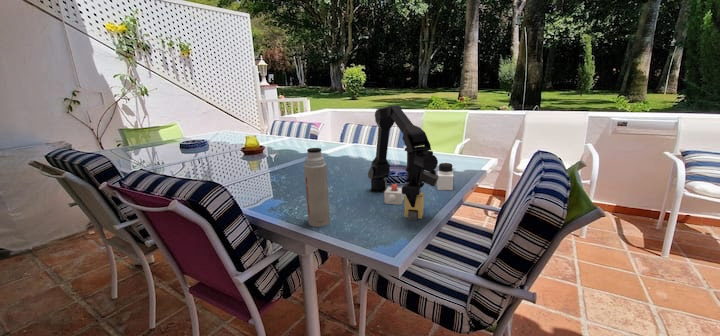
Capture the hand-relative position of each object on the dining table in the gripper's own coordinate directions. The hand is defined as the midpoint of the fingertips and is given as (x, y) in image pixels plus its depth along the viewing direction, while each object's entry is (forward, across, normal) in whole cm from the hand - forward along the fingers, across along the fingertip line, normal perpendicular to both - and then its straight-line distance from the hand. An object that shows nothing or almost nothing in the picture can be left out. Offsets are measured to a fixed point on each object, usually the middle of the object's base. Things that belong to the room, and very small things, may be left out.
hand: (414, 204), depth 119 cm
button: (-1, +13, +10) cm, 17 cm away
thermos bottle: (+5, -15, +33) cm, 36 cm away
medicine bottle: (+5, +35, -9) cm, 37 cm away
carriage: (+4, 0, 0) cm, 4 cm away
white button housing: (+4, +13, +10) cm, 17 cm away
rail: (+4, +3, 0) cm, 6 cm away
